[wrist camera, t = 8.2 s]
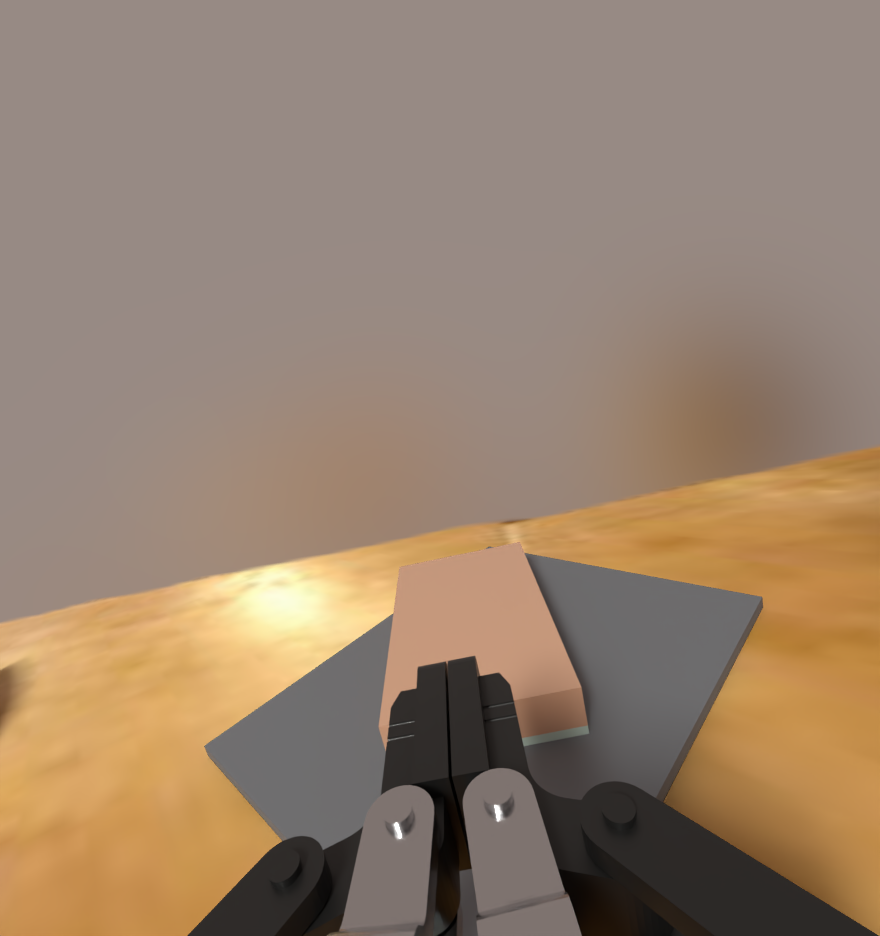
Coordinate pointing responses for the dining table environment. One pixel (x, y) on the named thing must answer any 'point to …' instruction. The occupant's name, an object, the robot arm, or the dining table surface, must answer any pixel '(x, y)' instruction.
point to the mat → (550, 763)
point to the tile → (485, 637)
